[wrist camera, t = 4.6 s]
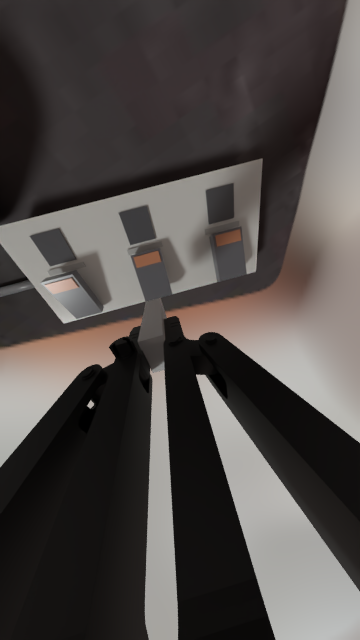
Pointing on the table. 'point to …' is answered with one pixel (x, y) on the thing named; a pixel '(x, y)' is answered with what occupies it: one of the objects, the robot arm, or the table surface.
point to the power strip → (138, 236)
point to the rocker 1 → (73, 294)
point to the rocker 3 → (228, 254)
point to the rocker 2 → (152, 274)
